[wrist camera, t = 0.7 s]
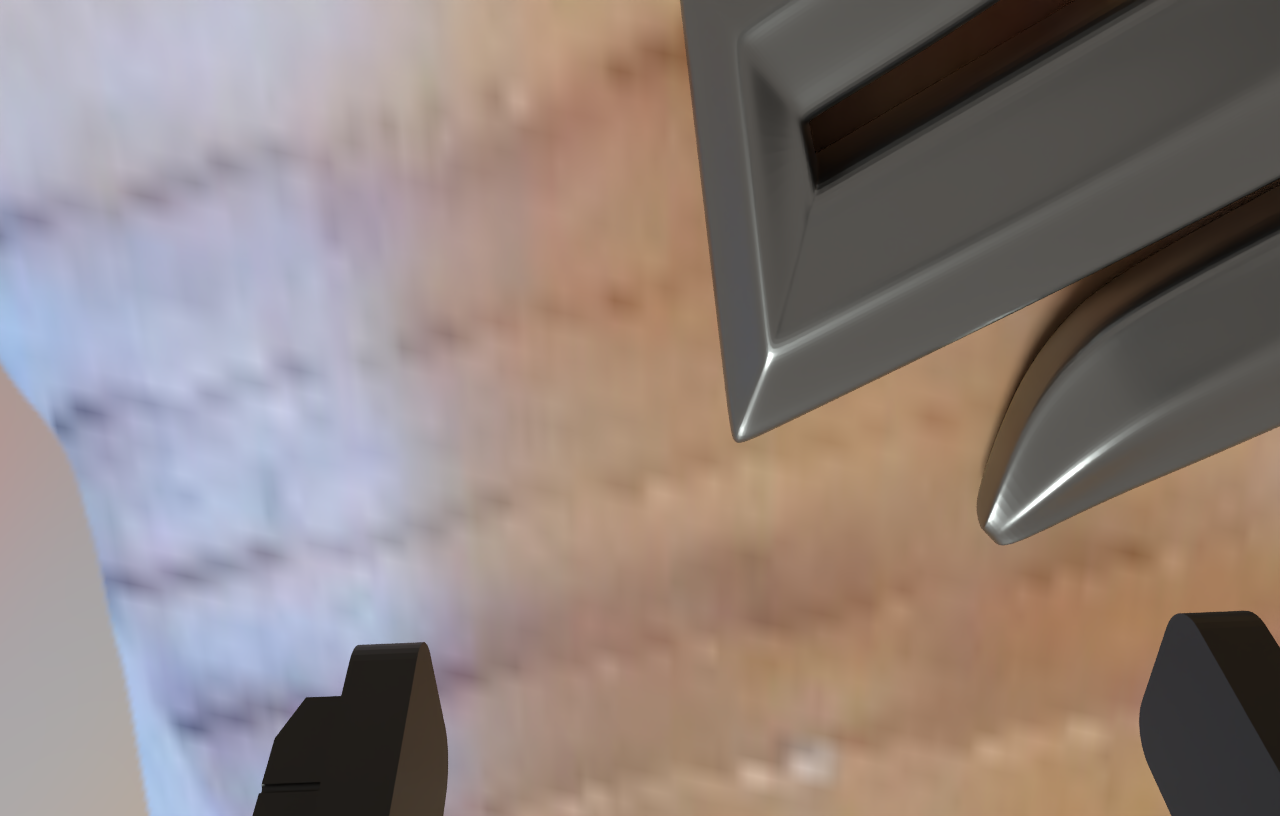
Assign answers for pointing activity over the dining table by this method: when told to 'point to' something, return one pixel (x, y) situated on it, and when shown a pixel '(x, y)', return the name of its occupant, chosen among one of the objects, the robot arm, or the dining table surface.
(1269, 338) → the emblem
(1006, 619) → the dining table surface
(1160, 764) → the robot arm
